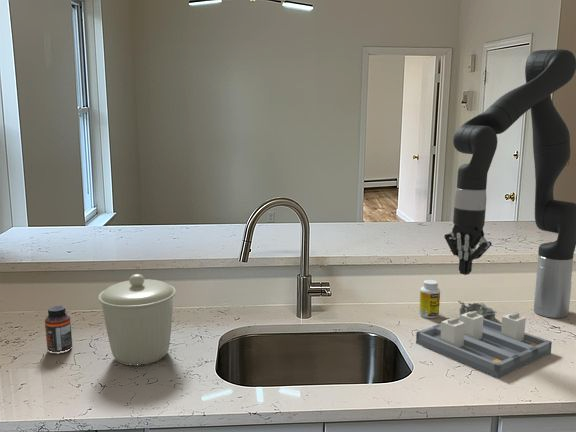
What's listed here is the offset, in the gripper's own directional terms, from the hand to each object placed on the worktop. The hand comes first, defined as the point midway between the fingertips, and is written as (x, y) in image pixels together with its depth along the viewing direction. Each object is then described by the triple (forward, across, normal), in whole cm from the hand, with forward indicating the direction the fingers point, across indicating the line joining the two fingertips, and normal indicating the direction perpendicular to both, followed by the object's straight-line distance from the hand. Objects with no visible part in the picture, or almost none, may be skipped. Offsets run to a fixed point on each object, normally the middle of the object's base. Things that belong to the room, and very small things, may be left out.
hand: (464, 273), depth 147 cm
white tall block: (+16, -2, -1) cm, 17 cm away
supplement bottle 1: (+21, +58, +84) cm, 104 cm away
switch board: (+18, -6, -1) cm, 19 cm away
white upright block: (+16, -10, -8) cm, 21 cm away
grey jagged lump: (+18, +7, -18) cm, 26 cm away
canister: (+21, +42, +69) cm, 84 cm away
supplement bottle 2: (+18, +17, -8) cm, 26 cm away
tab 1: (+17, -2, +6) cm, 18 cm away
